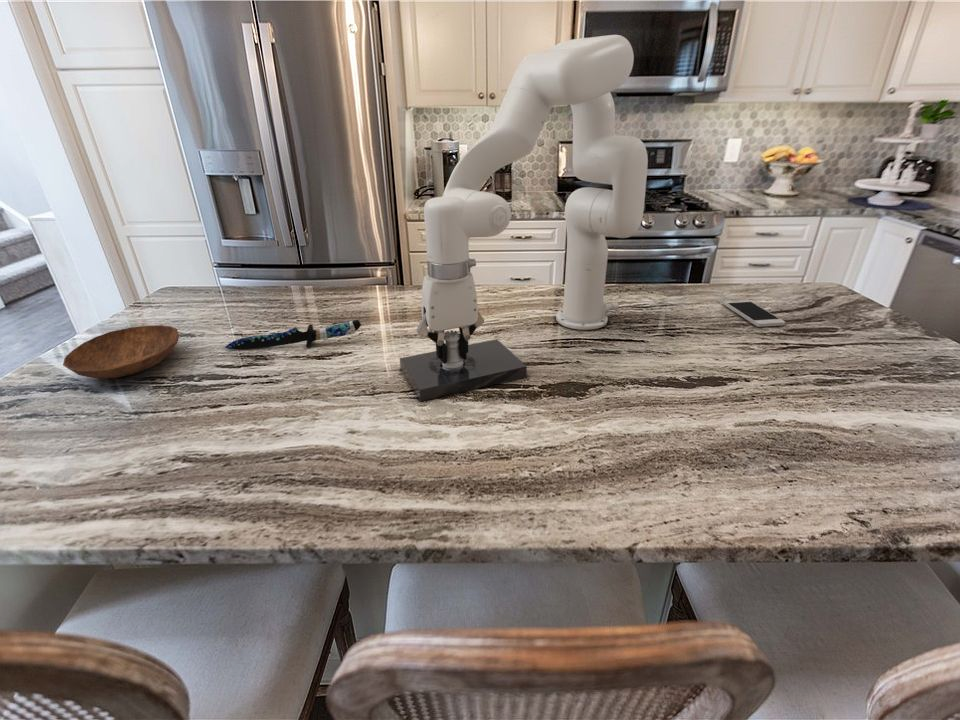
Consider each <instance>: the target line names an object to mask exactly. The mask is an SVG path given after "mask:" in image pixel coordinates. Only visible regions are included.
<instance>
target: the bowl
mask: <svg viewBox="0 0 960 720" xmlns="http://www.w3.org/2000/svg"><path fill="white" fill-rule="evenodd" d="M179 337H180V334H179V331H178V329H177V328H176V327H173V326H170V325H156V324H155V325H141V326H133V327H132V326H131V327H127V328H122V329H117V330H112V331H108V332H106V333H103V334H100V335H98V336H95V337H92V338H91V339H89V340H87V341H85V342H82V343H81V344H80V345H78V346H77V347H75V348H74V349H72V350H71V351H70V352H69V353H68V354H67V355H66V356H64V360H63V363H62V366H63V367H65V368H66V369H68V370H69V371H71V372H73V373H74V374H76V375H78V376H82V377H87V378H93V379H99V380H100V379H115V378H121V377H127V376H133V375H135V374H138V373H141V372H144V371H146V370H148V369H151V368H153V367H154V366H156V365H158V364H160V363H161V362H162V361H164V359H165V358H166V357H167V356H169V354H171V353H172V352H173V350H175V347H176V345H177V343H178V342H179Z"/></svg>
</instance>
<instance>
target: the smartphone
mask: <svg viewBox="0 0 960 720" xmlns="http://www.w3.org/2000/svg"><path fill="white" fill-rule="evenodd" d="M723 305H724V306H725V307H727V308H728V309H729V310H731V311H733V312H734V313H735V314H737V315H738V316H740V317H742V318H743V319H745V320H746V321H748V322H749V323H751V324H752V325H754V326H755V327H757V328H760V327H762V328H763V327H776V326H777V327H778V326H785V324H786V321H785V320H783V319H782V318H780V317H778V316H777V315H776V314H773V313H772V312H770V311H768V310H766V309H765V308H764V307H761V306H760V305H758V304H756V303H755V302H753V301H752V300H750V299H741V300H740V299H739V300H724V301H723Z"/></svg>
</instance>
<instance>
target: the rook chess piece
mask: <svg viewBox="0 0 960 720" xmlns="http://www.w3.org/2000/svg"><path fill="white" fill-rule="evenodd" d="M449 330H450V331H449ZM449 330H445V332H444V343H445V345H446V349H447V362H446V363H445V364H443V362H442V365H443V366H442V368H443V369H445V370H458V369H461V368H463V367H464V365H463V360H462V359H461V357H460V355H459V350H458V346H459V343H458V340H459V339H460V336H459V331H458V330H454V329H449Z"/></svg>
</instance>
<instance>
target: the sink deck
mask: <svg viewBox="0 0 960 720" xmlns="http://www.w3.org/2000/svg"><path fill="white" fill-rule="evenodd" d="M461 359H462V358H461ZM462 360H463V365H464V367H463V368H461V369H458V370H445V369H443V368H442V366H443V365H442V361H441V360H440V359H438V358H437V355H436V350H435V351H430V352H425V353H420V354H415V355H410V356H409V355H408V356H404V357H400V358H399V367H400V370H401V372H402V374H403V375H404V377H405V378H406V380H407V382H408V384H409V385H410V387H411V388H412V390H413V392H414V393H415V395H416V397H417V399H418V400H419V402H423V401H429V400H433V399H437V398H442V397H447V396H451V395H455V394H459V393H463V392H464V393H465V392H468V391H473V390H477V389H481V388H485V387H489V386H494V385H499V384H503V383H507V382H512V381H516V380H521V379H526V378H527V372H528V370H527V367H528V366H527V365H526V364H525V363H524V362H522V360H521V359H519V358H518V356H516V355H515V354H514V353H513V352H511V350H510V349H509V348H508V347H507V346H505V345H504V344H503V343H502V342H501V341H500V340H498V339H491V340H485V341H481V342H475V343H471V344H468V353H467V359H462Z"/></svg>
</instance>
